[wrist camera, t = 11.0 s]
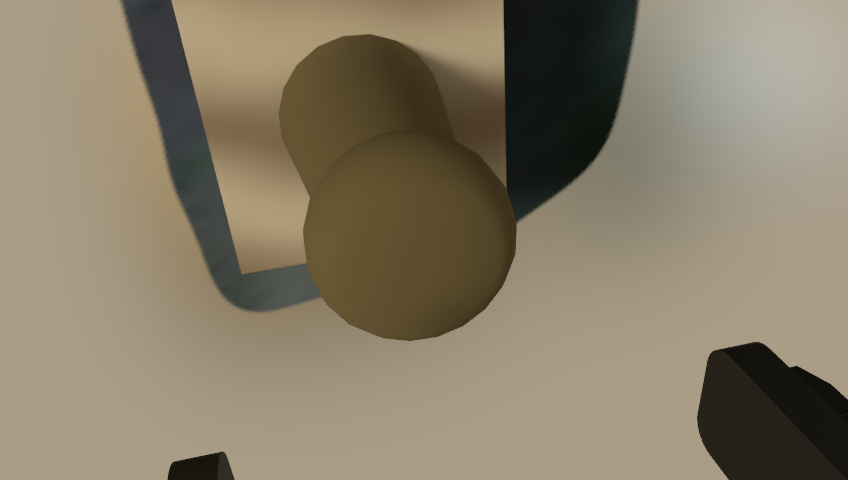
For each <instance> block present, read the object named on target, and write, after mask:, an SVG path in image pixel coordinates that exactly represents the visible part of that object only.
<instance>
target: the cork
mask: <svg viewBox="0 0 848 480" xmlns="http://www.w3.org/2000/svg"><path fill="white" fill-rule="evenodd" d="M279 120H280V127H281V134H282V140H283V142H284V144H285V146H286V148H287V150H288V152H289V154H290V157H291V159H292V161H293V163H294V165H295V167H296V169H297V171H298V173H299V175H300V178H301V180H302V182H303V184H304V186H305V188H306V190H307V192H308V194H309V197H310V200H309V205H308V209H307V213H306V218H305V222H304V227H303V239H304V247H305V254H306V262H307V269H308V272H309V274H310V276H311V278H312V279H313V281H314V283H315V285H316V287H317V288H318V290H319V292H320V294H321V296H322V297H323V299H324V300H325V302H326V303H327V305H328V306H329V307H330V308H331V309H332V310H333V311H335V312H336V313H337V314H338V315H339V316H340V317H341V318H343V319H344V320H345V321H346V322H347V323H348V324H350V325H352V326H355V327H357V328H359V329H362V330H364V331H367V332H369V333H371V334H374V335H376V336H379V337H382V338H388V339H397V340H407V341H413V340H419V339H426V338H432V337H438V336H440V335H442V334H445V333H447V332H450V331H452V330H454V329H457V328H459V327H462V326H463V325H465V324H466V323H467V322H469V321H470V320H471V319H473V318H474V317H475V316H477V315H478V314H479V313H481V312H482V311H483V310H485V309H486V307H487V306H488V305H489V303H490V302H491V301H492V300H493V298H494V297H495V296H496V294H497V293H498V292H499V290H500V289H501V288H502V286H503V284H504V282H505V280H506V277H507V274H508V272H509V269H510V267H511V264H512V261H513V259H514V256H515V250H516V227H517V226H516V221H515V215H514V212H513V209H512V206H511V203H510V199H509V196H508V193H507V190H506V187H505V186H504V185H503V183H502V182H501V181H500V180H499V178H498V177H497V176H496V175H495V173H494V172H493V171H492V170H491V168H490V167H489V166H488V165H487V163H486V162H485V161H484V160H483V159H482V157H481V156H480V155H479V154H477V153H475V152H474V151H472V150H470V149H469V148H467V147H465V146H464V145H462V144H460V143H459V142H457V141H456V139H455V136H454V133H453V130H452V127H451V124H450V121H449V118H448V115H447V112H446V109H445V106H444V103H443V100H442V97H441V94H440V91H439V88H438V85H437V82H436V80H435V77H434V74H433V73H432V72H431V71H430V69H429V68H428V67H427V66H426V64H425V63H424V62H423V60H422V59H421V58H420V57H419V55H417V54H416V53H414V52H413V51H411V50H410V49H408V48H407V47H405V46H404V45H402V44H401V43H399V42H397V41H396V40H392V39H388V38H384V37H380V36H376V35H372V34H364V35H351V36H342V37H339V38H337V39H335V40H332V41H330V42H328V43H325V44H323V45H320V46H318V47H317V48H315V49H314V50H313V51H312V52H311V53H310V54H309V55H307V56H306V57H305V58H304V59H303V60H302V61H301V62H300V63H298V64H297V65H296V67H295V69H294V71H293V72H292V74H291V76H290V78H289V79H288V81H287V83H286V85H285V86H284V88H283V93H282V98H281V104H280V109H279Z"/></svg>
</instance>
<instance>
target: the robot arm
mask: <svg viewBox="0 0 848 480" xmlns="http://www.w3.org/2000/svg"><path fill="white" fill-rule="evenodd" d="M697 422H698V429H699V433H700V436H701V439H702V442H703V444H704V446H705V448H706V449H707V451H708V452H709V454H710V455H711V456H712V458H713V459H714V461H715V462H716V463H717V465H718V466H719V467H720V469H721V470H722V471H723V473H724V474H725V475H726V476H727V478H728V479H729V480H848V400H847V399H846V398H845V397H844V396H843V395H842V394H841V393H840V392H839V391H838V390H836V389H835V388H834V387H833V386H832V385H831V384H829V383H827V382H825V381H824V380H822V379H820V378H818V377H816V376H815V375H812V374H811V373H809V372H807V371H805V370H803V369H802V368H800V367H798V366H795V367H790V368H789V367H788V366H787V365H786V364H785V363H784V362H783V361H782V360H781V359H780V358H779V357H778V356H777V355H776V354H775V353H773V352H772V351H771V350H770V349H769V348H768V347H767V346H765V345H764V344H762V343H759V342H753V343H748V344H744V345H739V346H734V347H729V348H725V349H719V350H715V351H713V352H712V353H711V354H710V356H709V358H708V361H707V366H706V372H705V377H704V383H703V388H702V393H701V399H700V404H699V410H698V416H697ZM168 480H234V477H233V474H232V471H231V468H230V465H229V462H228V459H227V456H226V454H225V453H224V452H219V453H214V454H209V455H204V456H199V457H195V458H190V459H185V460H180V461H175V462H173V463H172V464H171V466H170V469H169V474H168Z"/></svg>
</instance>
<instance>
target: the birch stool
mask: <svg viewBox="0 0 848 480" xmlns="http://www.w3.org/2000/svg"><path fill="white" fill-rule="evenodd" d="M172 4H173V8H174V12H175V16H176V19H177V23H178V27H179V31H180V35H181V39H182V43H183V47H184V51H185V55H186V59H187V62H188V66H189V70H190V74H191V78H192V82H193V86H194V90H195V94H196V98H197V101H198V105H199V109H200V113H201V117H202V121H203V125H204V129H205V133H206V137H207V141H208V144H209V148H210V152H211V156H212V160H213V164H214V168H215V172H216V176H217V180H218V183H219V187H220V191H221V195H222V199H223V203H224V207H225V211H226V215H227V219H228V223H229V226H230V230H231V234H232V238H233V242H234V246H235V250H236V254H237V258H238V262H239V265H240V269H241V273H242V274H245V273H251V272H257V271H262V270H268V269H274V268H280V267H285V266H291V265H297V264H303V263H307V262H306V254H305V247H304V239H303V227H304V222H305V218H306V213H307V209H308V205H309V200H310V197H309V194H308V192H307V190H306V188H305V186H304V184H303V182H302V180H301V178H300V175H299V173H298V171H297V169H296V167H295V165H294V163H293V161H292V159H291V157H290V154H289V152H288V150H287V148H286V146H285V144H284V142H283V140H282V134H281V127H280V120H279V109H280V104H281V98H282V93H283V88H284V86H285V85H286V83H287V81H288V79H289V78H290V76H291V74H292V72H293V71H294V69H295V67H296V65H297V64H298V63H300V62H301V61H302V60H303V59H304V58H305V57H306V56H307V55H309V54H310V53H311V52H312V51H313V50H314V49H315V48H317V47H318V46H320V45H323V44H325V43H328V42H330V41H332V40H335V39H337V38H339V37H342V36H351V35H364V34H372V35H376V36H380V37H384V38H388V39H392V40H396V41H397V42H399V43H401V44H402V45H404V46H405V47H407V48H408V49H410V50H411V51H413V52H414V53H416V54H417V55H419V57H420V58H421V59H422V60H423V62H424V63H425V64H426V66H427V67H428V68H429V69H430V71H431V72H432V73H433V74H434V77H435V80H436V82H437V85H438V88H439V91H440V94H441V97H442V100H443V103H444V106H445V109H446V112H447V115H448V118H449V121H450V124H451V127H452V130H453V133H454V136H455V139H456V141H457V142H459V143H460V144H462V145H464V146H465V147H467V148H469V149H470V150H472V151H474V152H475V153H477V154H479V155H480V156H481V157H482V159H483V160H484V161H485V162H486V163H487V165H488V166H489V167H490V168H491V170H492V171H493V172H494V173H495V175H496V176H497V177H498V178H499V180H500V181H501V182H502V183H503V185H504V186H505V187H506V130H505V70H504V11H503V0H172ZM506 190H507V189H506Z"/></svg>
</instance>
